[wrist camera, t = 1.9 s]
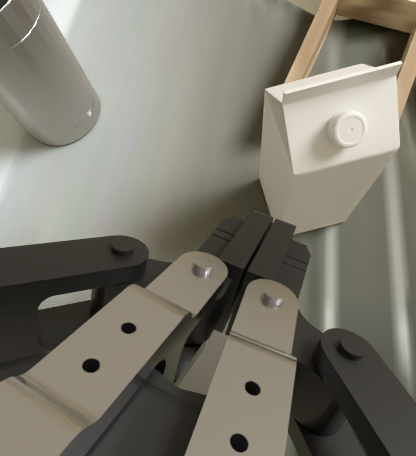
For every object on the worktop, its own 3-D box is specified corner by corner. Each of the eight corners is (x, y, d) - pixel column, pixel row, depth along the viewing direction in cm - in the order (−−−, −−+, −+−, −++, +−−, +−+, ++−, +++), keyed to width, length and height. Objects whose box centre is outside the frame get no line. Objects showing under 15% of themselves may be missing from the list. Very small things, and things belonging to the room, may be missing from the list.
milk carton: (258, 178, 42) (267, 46, 24) (322, 161, 42) (379, 16, 24) (277, 239, 40) (302, 144, 22) (345, 222, 39) (427, 112, 21)
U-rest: (266, 138, 43) (268, 117, 39) (328, 2, 48) (335, -28, 44) (373, 174, 41) (386, 155, 37) (427, 27, 46) (443, -3, 42)
